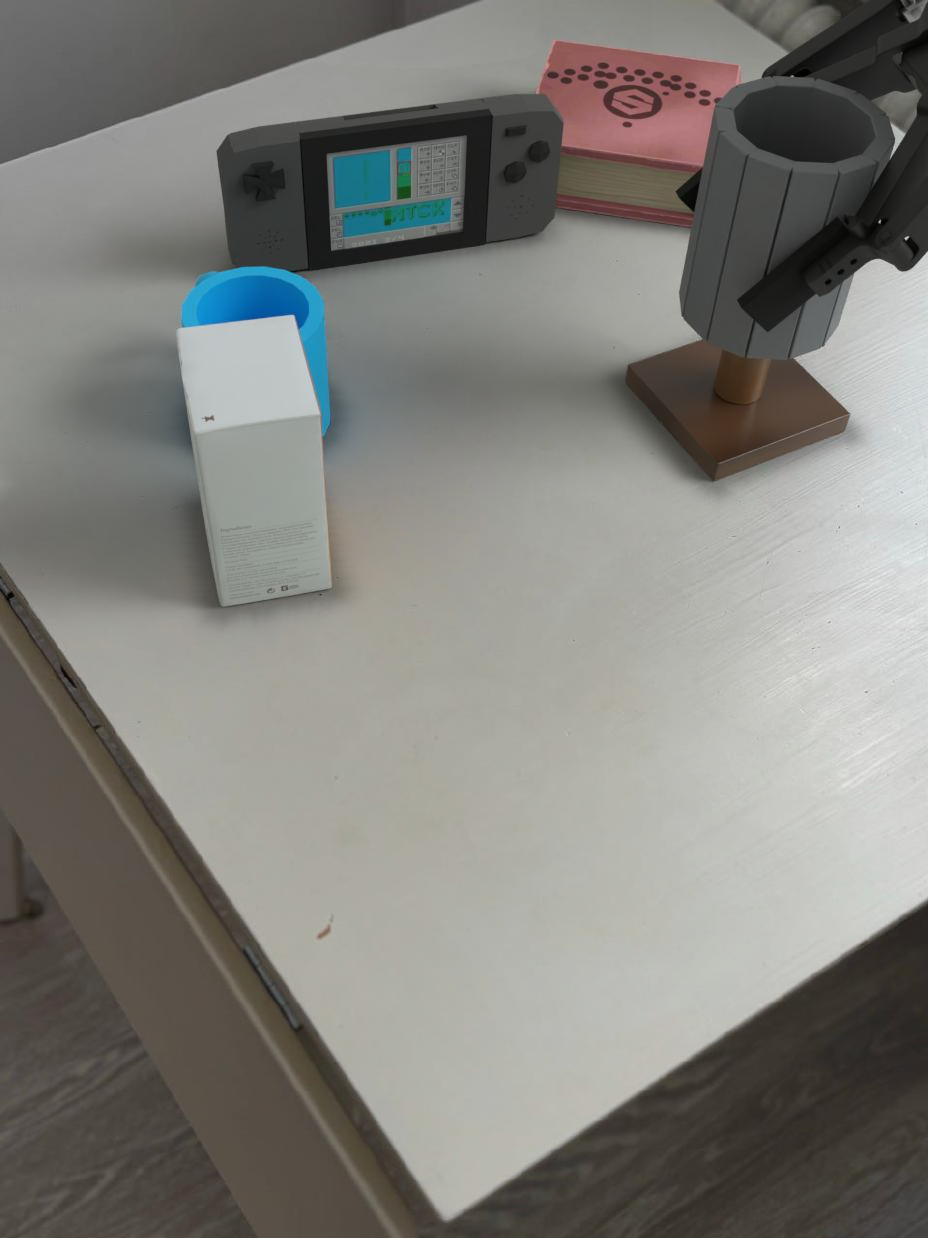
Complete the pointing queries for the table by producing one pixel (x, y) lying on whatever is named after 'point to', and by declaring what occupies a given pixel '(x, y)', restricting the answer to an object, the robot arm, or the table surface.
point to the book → (631, 127)
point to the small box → (257, 457)
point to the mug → (265, 311)
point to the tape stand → (734, 405)
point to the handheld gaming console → (390, 182)
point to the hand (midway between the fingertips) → (720, 259)
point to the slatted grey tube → (776, 204)
